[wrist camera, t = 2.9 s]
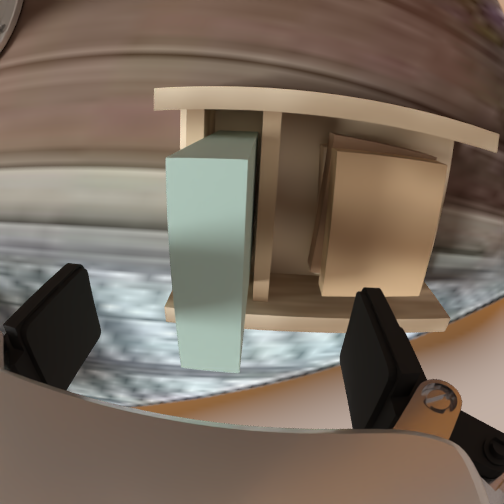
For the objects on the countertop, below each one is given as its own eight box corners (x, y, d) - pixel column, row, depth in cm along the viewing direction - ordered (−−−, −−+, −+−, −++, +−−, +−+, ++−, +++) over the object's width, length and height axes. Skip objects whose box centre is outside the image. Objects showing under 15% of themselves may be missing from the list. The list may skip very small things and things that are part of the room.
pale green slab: (219, 130, 20) (165, 157, 10) (258, 131, 20) (248, 159, 10) (217, 251, 24) (181, 367, 14) (251, 254, 24) (239, 373, 13)
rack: (186, 92, 21) (154, 88, 14) (446, 123, 20) (499, 134, 14) (188, 271, 27) (166, 321, 21) (413, 283, 27) (444, 331, 20)
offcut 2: (331, 147, 18) (337, 151, 16) (435, 160, 17) (447, 165, 16) (318, 283, 21) (321, 296, 20) (410, 284, 21) (418, 296, 20)
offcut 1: (329, 132, 19) (334, 134, 17) (426, 153, 19) (436, 157, 17) (307, 261, 23) (310, 272, 21) (396, 270, 23) (403, 281, 21)
